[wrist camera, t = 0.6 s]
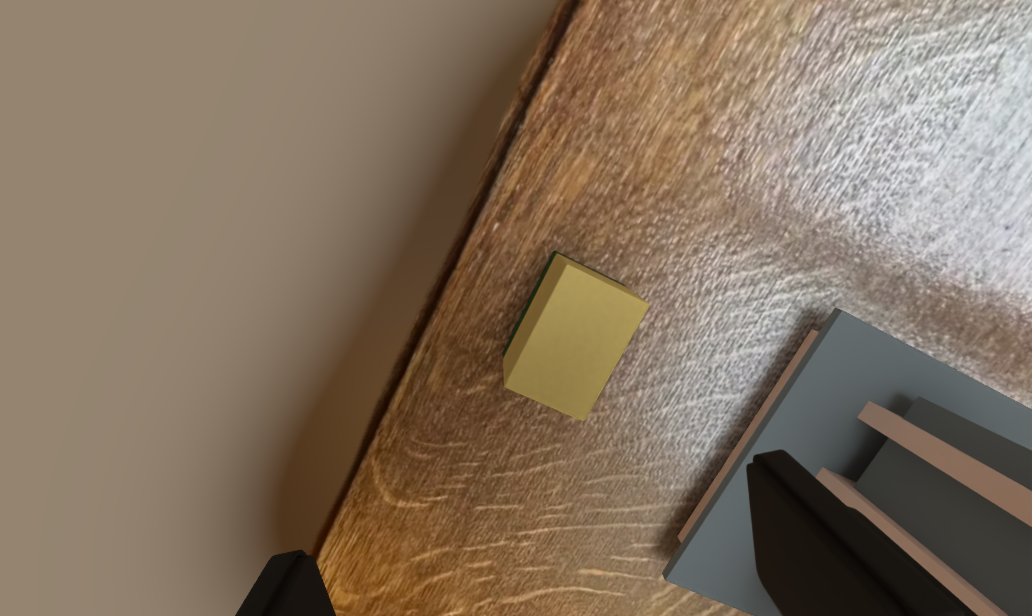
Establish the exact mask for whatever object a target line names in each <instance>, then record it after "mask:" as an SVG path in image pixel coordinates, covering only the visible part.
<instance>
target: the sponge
mask: <svg viewBox="0 0 1032 616" xmlns="http://www.w3.org/2000/svg"><path fill="white" fill-rule="evenodd" d="M649 306H650V304H649V303H648V302H646V301H645V300H644V299H642V298H641V297H640V296H638V295H637V294H635V293H634V292H633V291H631V290H630V289H629V288H627V287H626V286H625V285H623V284H622V283H620V282H618V281H616V280H614V279H611V278H609V277H607V276H605V275H603V274H601V273H599V272H597V271H595V270H593V269H591V268H589V267H587V266H585V265H583V264H581V263H579V262H577V261H575V260H573V259H571V258H569V257H567V256H565V255H563V254H561V253H558V252H556V251H554V252H553V254H552V256H551V258H550V260H549V262H548V264H547V266H546V268H545V269H544V271H543V273H542V275H541V277H540V279H539V281H538V283H537V285H536V287H535V289H534V291H533V293H532V295H531V297H530V299H529V301H528V303H527V305H526V307H525V309H524V311H523V313H522V315H521V317H520V319H519V321H518V323H517V325H516V327H515V329H514V331H513V333H512V335H511V337H510V339H509V341H508V343H507V345H506V347H505V349H504V351H503V353H502V354H503V374H504V387H505V388H507V389H509V390H512V391H514V392H516V393H519V394H521V395H523V396H525V397H528V398H530V399H532V400H535V401H537V402H539V403H541V404H544V405H546V406H548V407H551V408H553V409H555V410H557V411H560V412H562V413H564V414H567V415H569V416H571V417H573V418H576V419H578V420H580V421H583V422H584V421H585V420H586V418H587V416H588V414H589V413H590V411H591V409H592V407H593V405H594V404H595V402H596V400H597V398H598V397H599V395H600V393H601V391H602V389H603V388H604V386H605V384H606V382H607V381H608V379H609V377H610V375H611V373H612V372H613V370H614V368H615V366H616V365H617V363H618V361H619V359H620V357H621V356H622V354H623V352H624V350H625V349H626V347H627V345H628V343H629V341H630V340H631V338H632V336H633V334H634V333H635V331H636V329H637V327H638V325H639V324H640V322H641V320H642V318H643V317H644V315H645V313H646V311H647V309H648V308H649Z"/></svg>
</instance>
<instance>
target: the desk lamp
mask: <svg viewBox="0 0 1032 616" xmlns="http://www.w3.org/2000/svg"><path fill="white" fill-rule="evenodd" d="M779 449H782V450H785V451H786V452H788V453H789V454H790V455H791V456H792V457H793V458H794V459H795V460H796V461H798V462H799V463H800V464H801V465H802V466H803V467H804V468H805V469H806V470H808V471H809V472H810V473H811V474H812V475H813V476H814V477H815V478H816V479H818V480H819V481H820V482H821V483H822V484H823V485H824V486H825V487H826V488H828V489H829V490H830V491H831V492H832V493H833V494H834V495H835V496H836V497H838V498H839V499H840V500H841V501H842V502H843V503H844V504H845V505H846V506H849V507H852V508H855V509H857V510H858V511H859V512H861V513H862V514H863V515H865V516H866V517H867V518H868V519H869V520H870V521H871V522H873V523H874V524H875V525H876V526H877V527H878V528H879V529H880V530H882V531H883V532H884V533H885V534H886V535H887V536H888V537H890V538H891V539H892V540H893V541H894V542H895V543H896V544H897V545H899V546H900V547H901V548H902V549H903V550H904V551H905V552H907V553H908V554H909V555H910V556H911V557H912V558H913V559H914V560H916V561H917V562H918V563H919V564H920V565H921V566H922V567H924V568H925V569H926V570H927V571H928V572H929V573H930V574H931V575H933V576H934V577H935V578H936V579H937V580H938V581H939V582H941V583H942V584H943V585H944V586H945V587H946V588H947V589H948V590H950V591H951V592H952V593H953V594H954V595H955V596H956V597H958V598H959V599H960V600H961V601H962V602H963V603H964V604H965V605H967V606H968V607H969V608H970V609H971V610H972V611H973V612H975V613H976V614H977V615H978V616H1032V409H1030V408H1028V407H1026V406H1024V405H1022V404H1020V403H1019V402H1017V401H1015V400H1013V399H1011V398H1009V397H1007V396H1005V395H1003V394H1001V393H999V392H998V391H996V390H994V389H992V388H990V387H988V386H986V385H984V384H982V383H980V382H978V381H977V380H975V379H973V378H971V377H969V376H967V375H965V374H963V373H961V372H959V371H957V370H956V369H954V368H952V367H950V366H948V365H946V364H944V363H942V362H940V361H938V360H936V359H934V358H933V357H931V356H929V355H927V354H925V353H923V352H921V351H919V350H917V349H915V348H913V347H912V346H910V345H908V344H906V343H904V342H902V341H900V340H898V339H896V338H894V337H892V336H891V335H889V334H887V333H885V332H883V331H881V330H879V329H877V328H875V327H873V326H871V325H870V324H868V323H866V322H864V321H862V320H860V319H858V318H856V317H854V316H852V315H850V314H849V313H847V312H845V311H843V310H840V309H837V308H835V309H834V310H833V312H832V313H831V315H830V316H829V318H828V319H827V321H826V322H825V324H824V325H823V327H822V328H821V330H820V332H818V331H816V330H813V329H811V331H810V332H809V334H808V335H807V337H806V338H805V340H804V341H803V343H802V344H801V346H800V348H799V349H798V351H797V352H796V354H795V355H794V357H793V358H792V360H791V361H790V363H789V365H788V366H787V368H786V369H785V371H784V372H783V374H782V375H781V377H780V378H779V380H778V382H777V383H776V385H775V386H774V388H773V389H772V391H771V392H770V394H769V395H768V397H767V399H766V400H765V402H764V403H763V405H762V406H761V408H760V409H759V411H758V412H757V414H756V416H755V417H754V419H753V420H752V422H751V423H750V425H749V426H748V428H747V429H746V431H745V433H744V434H743V436H742V437H741V439H740V440H739V442H738V443H737V445H736V446H735V448H734V450H733V451H732V453H731V454H730V456H729V457H728V459H727V460H726V462H725V463H724V465H723V467H722V468H721V470H720V471H719V473H718V474H717V476H716V477H715V479H714V480H713V482H712V484H711V485H710V487H709V488H708V490H707V491H706V493H705V494H704V496H703V497H702V499H701V501H700V502H699V504H698V505H697V507H696V508H695V510H694V511H693V513H692V515H691V516H690V518H689V519H688V521H687V522H686V524H685V525H684V527H683V528H682V530H681V532H680V533H679V535H678V536H677V537H678V539H679V540H680V542H681V545H680V547H679V548H678V550H677V551H676V553H675V554H674V556H673V557H672V559H671V560H670V562H669V563H668V565H667V566H666V568H665V570H664V571H663V573H662V574H663V577H664V579H665V581H668V582H670V583H673V584H675V585H678V586H680V587H683V588H686V589H688V590H691V591H693V592H696V593H698V594H701V595H703V596H706V597H708V598H711V599H713V600H716V601H718V602H721V603H723V604H726V605H728V606H731V607H733V608H736V609H738V610H741V611H743V612H746V613H748V614H751V615H754V616H783V615H782V614H781V612H780V611H779V609H778V608H777V606H776V605H775V603H774V602H773V600H772V599H771V597H770V596H769V594H768V593H767V591H766V590H765V589H764V587H763V585H762V583H761V581H760V579H759V576H758V573H757V570H756V562H755V553H754V543H753V533H752V523H751V513H750V503H749V493H748V483H747V473H746V466H747V464H748V463H753V456H754V455H756V454H760V453H765V452H770V451H774V450H779Z"/></svg>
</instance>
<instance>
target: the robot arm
mask: <svg viewBox="0 0 1032 616" xmlns="http://www.w3.org/2000/svg"><path fill="white" fill-rule="evenodd" d="M746 473H747V483H748V493H749V503H750V513H751V523H752V533H753V543H754V553H755V562H756V570H757V573H758V576H759V579H760V581H761V583H762V585H763V587H764V589H765V590H766V591H767V593H768V594H769V596H770V597H771V599H772V600H773V602H774V603H775V605H776V606H777V608H778V609H779V611H780V612H781V614H782V615H783V616H978V615H977V614H976V613H975V612H973V611H972V610H971V609H970V608H969V607H968V606H967V605H965V604H964V603H963V602H962V601H961V600H960V599H959V598H958V597H956V596H955V595H954V594H953V593H952V592H951V591H950V590H948V589H947V588H946V587H945V586H944V585H943V584H942V583H941V582H939V581H938V580H937V579H936V578H935V577H934V576H933V575H931V574H930V573H929V572H928V571H927V570H926V569H925V568H924V567H922V566H921V565H920V564H919V563H918V562H917V561H916V560H914V559H913V558H912V557H911V556H910V555H909V554H908V553H907V552H905V551H904V550H903V549H902V548H901V547H900V546H899V545H897V544H896V543H895V542H894V541H893V540H892V539H891V538H890V537H888V536H887V535H886V534H885V533H884V532H883V531H882V530H880V529H879V528H878V527H877V526H876V525H875V524H874V523H873V522H871V521H870V520H869V519H868V518H867V517H866V516H865V515H863V514H862V513H861V512H859V511H858V510H857V509H855V508H852V507H849V506H846V505H845V504H844V503H843V502H842V501H841V500H840V499H839V498H838V497H836V496H835V495H834V494H833V493H832V492H831V491H830V490H829V489H828V488H826V487H825V486H824V485H823V484H822V483H821V482H820V481H819V480H818V479H816V478H815V477H814V476H813V475H812V474H811V473H810V472H809V471H808V470H806V469H805V468H804V467H803V466H802V465H801V464H800V463H799V462H798V461H796V460H795V459H794V458H793V457H792V456H791V455H790V454H789V453H788V452H786V451H785V450H782V449H779V450H774V451H770V452H765V453H760V454H756V455H754V456H753V463H748V464H747V466H746ZM235 616H336V614H335V611H334V609H333V606H332V603H331V601H330V598H329V595H328V593H327V590H326V587H325V585H324V582H323V579H322V577H321V574H320V571H319V569H318V566H317V563H316V561H315V559H314V557H313V556H311V555H308V556H307V555H306V553H305V552H304V551H303V550H297V551H292V552H287V553H282V554H278V555H274V556H272V557H271V559H270V560H269V561H268V563H267V564H266V566H265V568H264V569H263V571H262V573H261V574H260V576H259V577H258V579H257V581H256V582H255V584H254V586H253V587H252V589H251V591H250V592H249V594H248V595H247V597H246V599H245V600H244V602H243V604H242V605H241V607H240V608H239V610H238V612H237V614H236V615H235Z"/></svg>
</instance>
